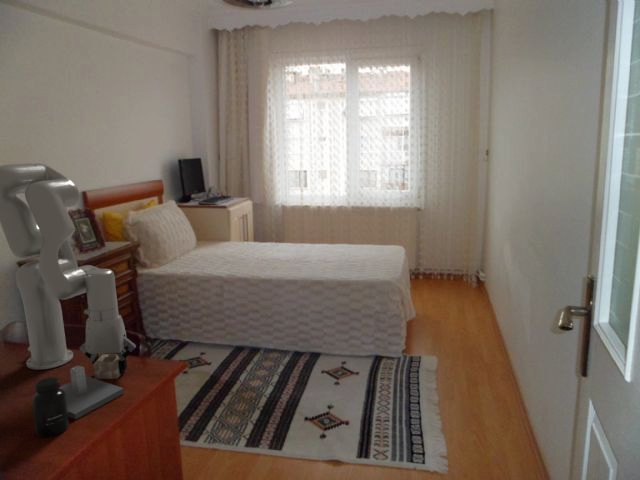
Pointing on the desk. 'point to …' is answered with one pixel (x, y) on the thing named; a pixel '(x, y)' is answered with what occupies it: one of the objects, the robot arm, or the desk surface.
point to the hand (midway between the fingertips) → (110, 371)
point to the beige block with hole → (107, 367)
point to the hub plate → (90, 397)
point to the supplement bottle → (50, 408)
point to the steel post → (78, 380)
